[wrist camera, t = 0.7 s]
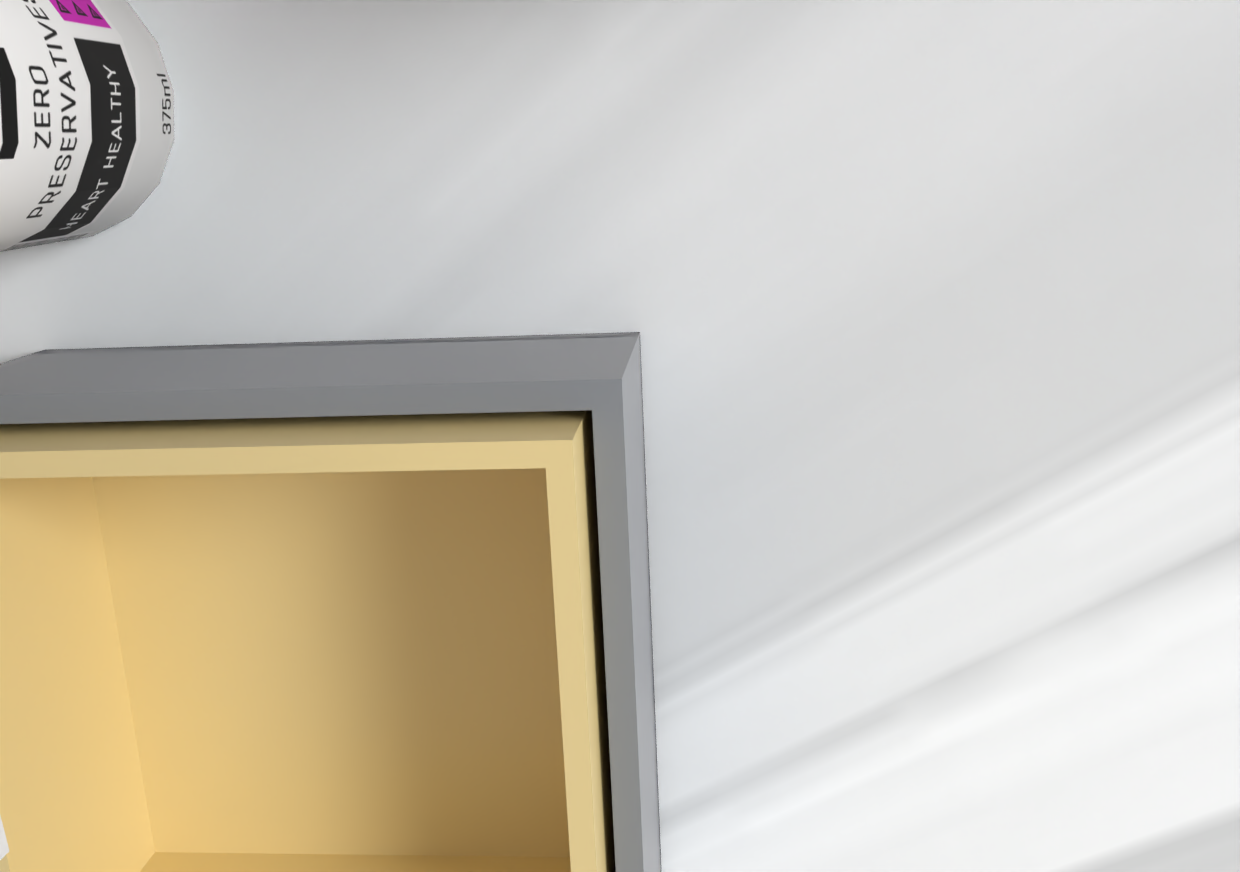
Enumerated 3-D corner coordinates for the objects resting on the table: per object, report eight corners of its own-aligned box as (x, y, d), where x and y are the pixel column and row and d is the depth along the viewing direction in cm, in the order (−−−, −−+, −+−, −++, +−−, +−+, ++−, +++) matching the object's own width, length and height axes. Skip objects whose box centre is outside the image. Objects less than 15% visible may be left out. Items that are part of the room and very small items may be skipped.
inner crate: (68, 387, 37) (-102, 453, 29) (604, 372, 36) (572, 439, 28) (148, 857, 42) (18, 1022, 34) (627, 863, 40) (606, 1038, 32)
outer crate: (44, 350, 38) (-103, 397, 31) (640, 332, 36) (621, 378, 29) (134, 869, 43) (25, 1008, 36) (661, 876, 41) (650, 1023, 34)
